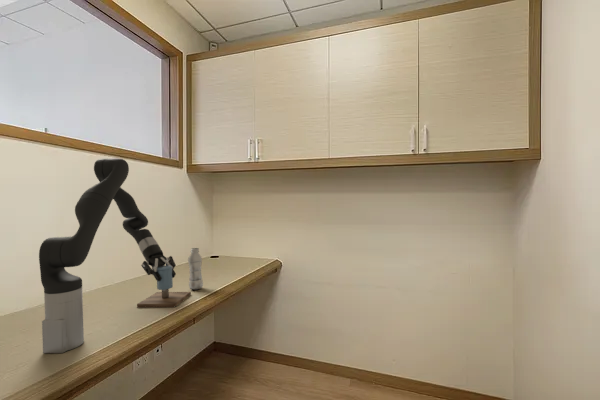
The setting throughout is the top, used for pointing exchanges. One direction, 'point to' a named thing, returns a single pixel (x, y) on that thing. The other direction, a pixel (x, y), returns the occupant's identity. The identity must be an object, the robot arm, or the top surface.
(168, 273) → the blue-grey rounded cylinder
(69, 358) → the top surface
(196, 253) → the plastic bottle
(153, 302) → the post dock
